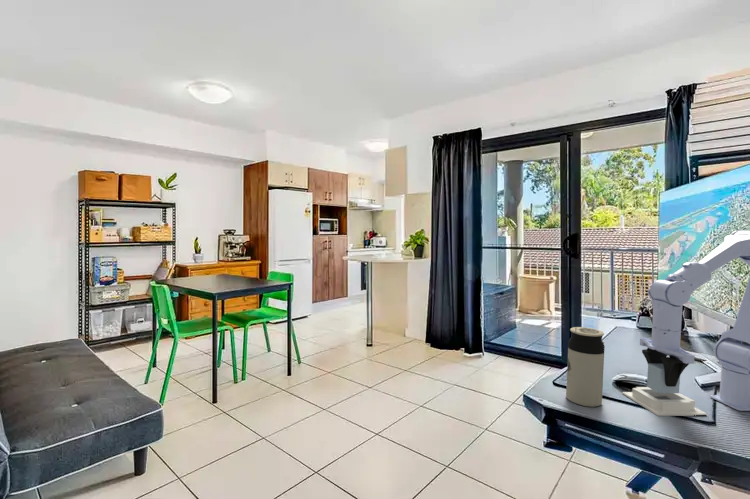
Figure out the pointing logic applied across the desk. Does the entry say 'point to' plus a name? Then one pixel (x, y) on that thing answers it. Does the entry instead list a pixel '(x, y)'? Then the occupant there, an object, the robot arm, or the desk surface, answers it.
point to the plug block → (659, 379)
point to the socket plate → (664, 402)
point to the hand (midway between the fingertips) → (663, 382)
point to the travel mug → (585, 366)
